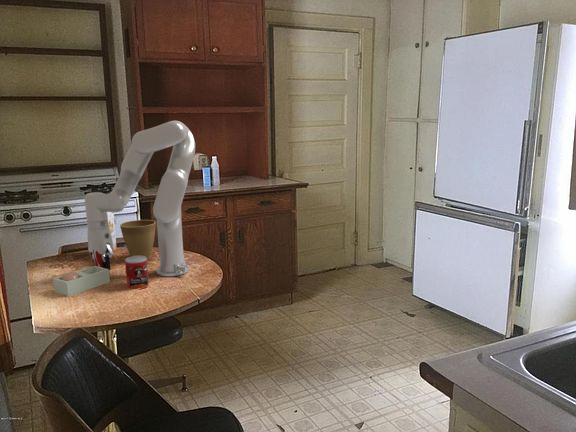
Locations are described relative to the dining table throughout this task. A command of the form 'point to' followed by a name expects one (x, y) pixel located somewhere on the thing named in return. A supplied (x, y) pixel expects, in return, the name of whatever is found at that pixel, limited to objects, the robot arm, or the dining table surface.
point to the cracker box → (112, 228)
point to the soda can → (98, 259)
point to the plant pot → (139, 236)
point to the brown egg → (70, 276)
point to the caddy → (82, 281)
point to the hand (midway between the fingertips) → (102, 269)
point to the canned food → (136, 272)
